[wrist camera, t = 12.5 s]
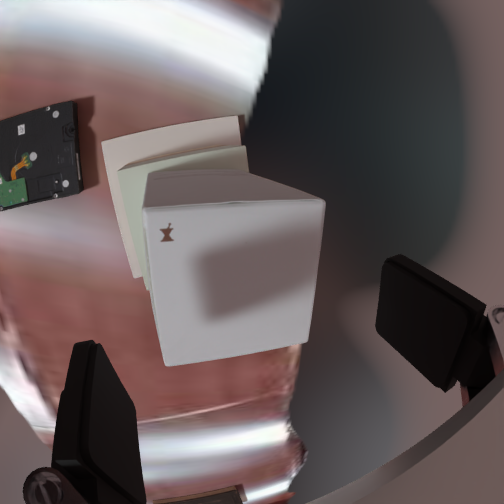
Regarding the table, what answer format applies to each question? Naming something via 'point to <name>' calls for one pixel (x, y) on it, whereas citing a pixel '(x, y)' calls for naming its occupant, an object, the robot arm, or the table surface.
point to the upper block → (136, 174)
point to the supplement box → (229, 262)
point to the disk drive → (40, 156)
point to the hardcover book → (207, 498)
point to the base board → (156, 145)
